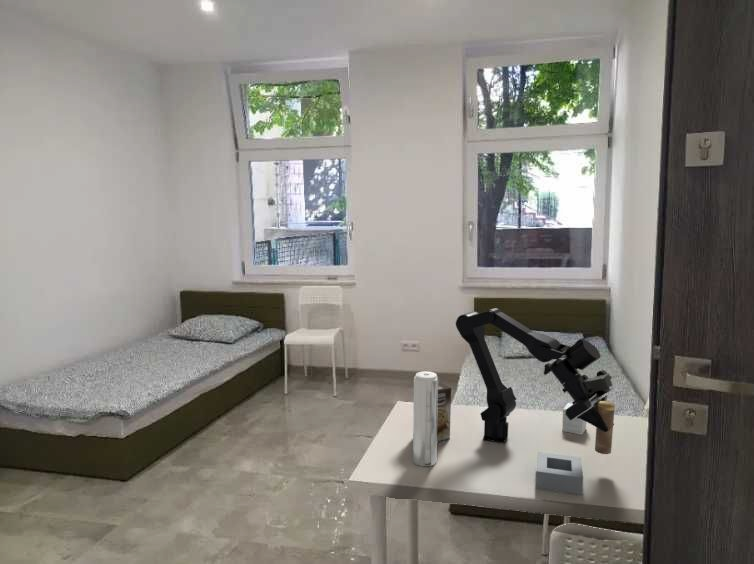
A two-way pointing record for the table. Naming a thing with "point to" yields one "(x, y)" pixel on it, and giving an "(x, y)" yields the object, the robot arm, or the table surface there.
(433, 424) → the air filter
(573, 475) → the socket block
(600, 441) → the peg
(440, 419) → the coffee box
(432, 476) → the table surface
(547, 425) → the table surface
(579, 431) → the product box
